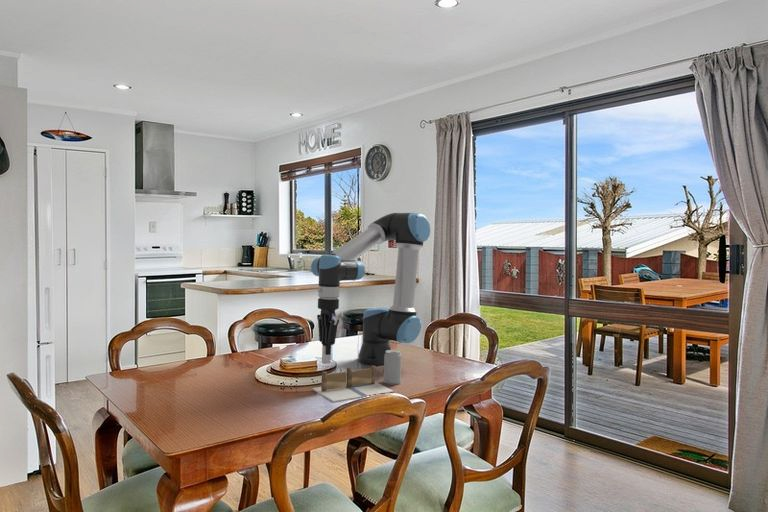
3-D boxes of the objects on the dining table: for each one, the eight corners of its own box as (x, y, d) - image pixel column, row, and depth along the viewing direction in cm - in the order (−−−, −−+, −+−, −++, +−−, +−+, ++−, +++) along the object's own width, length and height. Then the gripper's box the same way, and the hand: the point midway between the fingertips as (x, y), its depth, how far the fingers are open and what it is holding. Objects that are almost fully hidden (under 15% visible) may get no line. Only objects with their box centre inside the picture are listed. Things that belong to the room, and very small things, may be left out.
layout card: (312, 389, 192) (312, 387, 192) (370, 380, 205) (370, 379, 205) (333, 402, 179) (333, 400, 179) (393, 392, 192) (393, 390, 192)
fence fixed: (345, 388, 195) (346, 367, 194) (373, 383, 201) (373, 364, 201) (347, 389, 193) (348, 369, 193) (375, 385, 200) (376, 365, 199)
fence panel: (320, 389, 189) (320, 371, 189) (344, 386, 194) (344, 368, 194) (322, 391, 188) (323, 373, 187) (346, 387, 193) (347, 369, 192)
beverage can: (386, 385, 199) (387, 353, 199) (381, 380, 206) (382, 349, 205) (402, 384, 201) (403, 353, 200) (397, 380, 207) (398, 349, 207)
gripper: (311, 296, 198) (308, 359, 199) (327, 300, 187) (324, 368, 188) (329, 295, 202) (327, 358, 203) (346, 299, 191) (343, 366, 192)
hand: (326, 362), depth 195 cm, fingers closed
